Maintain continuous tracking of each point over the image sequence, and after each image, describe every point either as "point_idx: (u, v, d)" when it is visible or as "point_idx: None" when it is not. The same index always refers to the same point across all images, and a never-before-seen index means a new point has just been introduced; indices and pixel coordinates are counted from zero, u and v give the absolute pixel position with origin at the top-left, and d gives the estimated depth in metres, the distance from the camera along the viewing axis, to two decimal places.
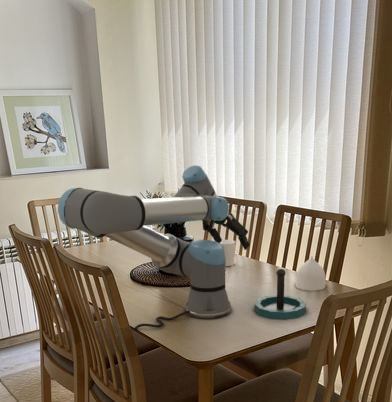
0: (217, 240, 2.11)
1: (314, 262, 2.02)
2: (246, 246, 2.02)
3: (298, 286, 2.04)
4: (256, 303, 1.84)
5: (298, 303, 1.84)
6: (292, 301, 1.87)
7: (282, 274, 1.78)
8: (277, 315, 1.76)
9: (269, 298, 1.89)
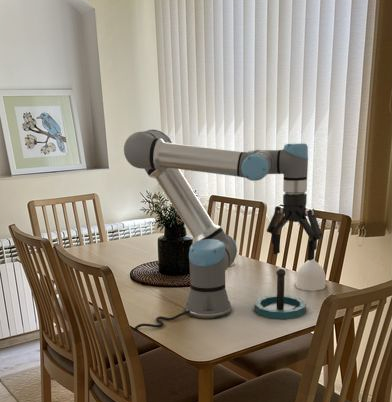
0: (276, 248, 1.87)
1: (314, 262, 2.02)
2: (311, 257, 1.79)
3: (298, 286, 2.04)
4: (256, 303, 1.84)
5: (298, 303, 1.84)
6: (292, 301, 1.87)
7: (282, 274, 1.78)
8: (277, 315, 1.76)
9: (269, 298, 1.89)
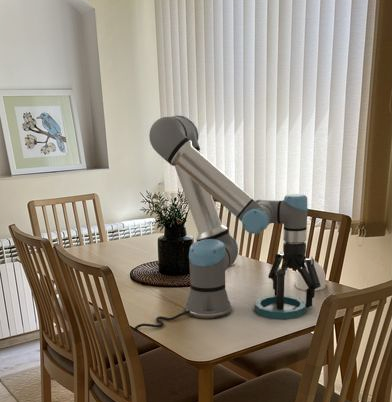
0: None
1: (314, 262, 2.02)
2: (309, 304, 1.84)
3: (298, 286, 2.04)
4: (256, 303, 1.83)
5: (298, 303, 1.84)
6: (292, 301, 1.87)
7: (282, 274, 1.78)
8: (277, 315, 1.76)
9: (269, 298, 1.89)
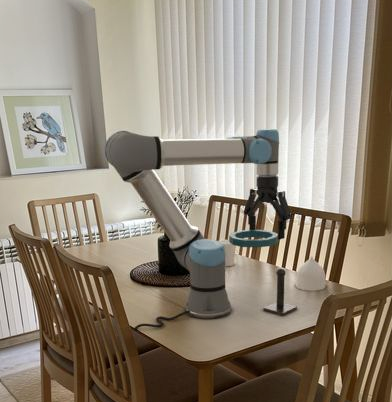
0: (252, 229, 2.00)
1: (314, 262, 2.02)
2: (281, 236, 1.92)
3: (298, 286, 2.04)
4: (231, 235, 1.92)
5: (271, 235, 1.93)
6: (266, 234, 1.96)
7: (282, 274, 1.78)
8: (249, 243, 1.85)
9: (244, 232, 1.98)
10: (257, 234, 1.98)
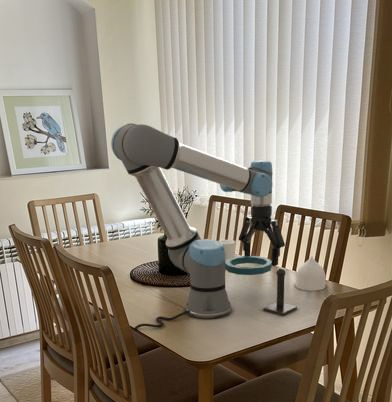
0: (246, 255, 2.07)
1: (314, 262, 2.02)
2: (275, 263, 1.99)
3: (298, 286, 2.04)
4: (226, 262, 1.99)
5: (265, 262, 2.00)
6: (260, 261, 2.03)
7: (282, 274, 1.78)
8: (244, 271, 1.91)
9: (239, 258, 2.04)
10: (252, 260, 2.05)
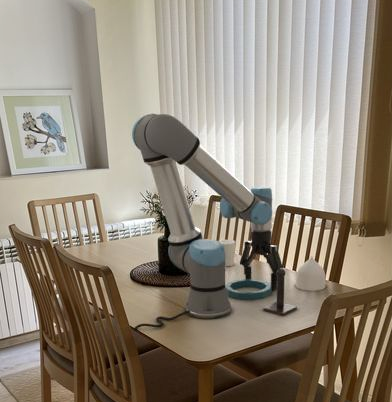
0: None
1: (314, 262, 2.02)
2: (274, 287, 2.03)
3: (298, 286, 2.04)
4: (226, 286, 2.02)
5: (265, 286, 2.02)
6: (260, 284, 2.06)
7: (282, 274, 1.78)
8: (243, 296, 1.94)
9: (239, 282, 2.07)
10: (252, 283, 2.08)
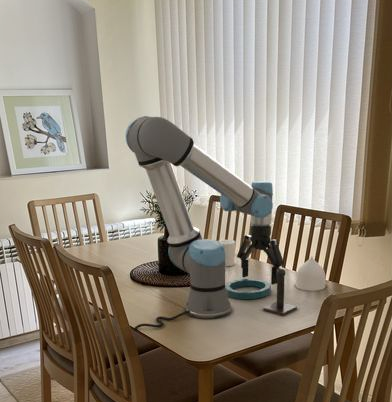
0: (244, 272, 2.09)
1: (314, 262, 2.02)
2: (274, 281, 2.01)
3: (298, 286, 2.04)
4: (226, 286, 2.02)
5: (264, 285, 2.02)
6: (259, 284, 2.06)
7: (282, 274, 1.78)
8: (243, 296, 1.94)
9: (239, 281, 2.07)
10: (251, 283, 2.08)
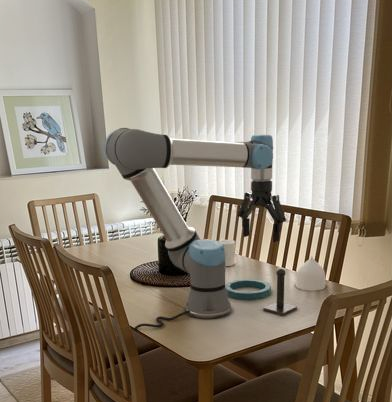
0: (246, 231, 2.04)
1: (314, 262, 2.02)
2: (276, 239, 1.96)
3: (298, 286, 2.04)
4: (226, 286, 2.02)
5: (264, 286, 2.02)
6: (259, 284, 2.06)
7: (282, 274, 1.78)
8: (243, 296, 1.94)
9: (239, 282, 2.07)
10: (251, 284, 2.08)
